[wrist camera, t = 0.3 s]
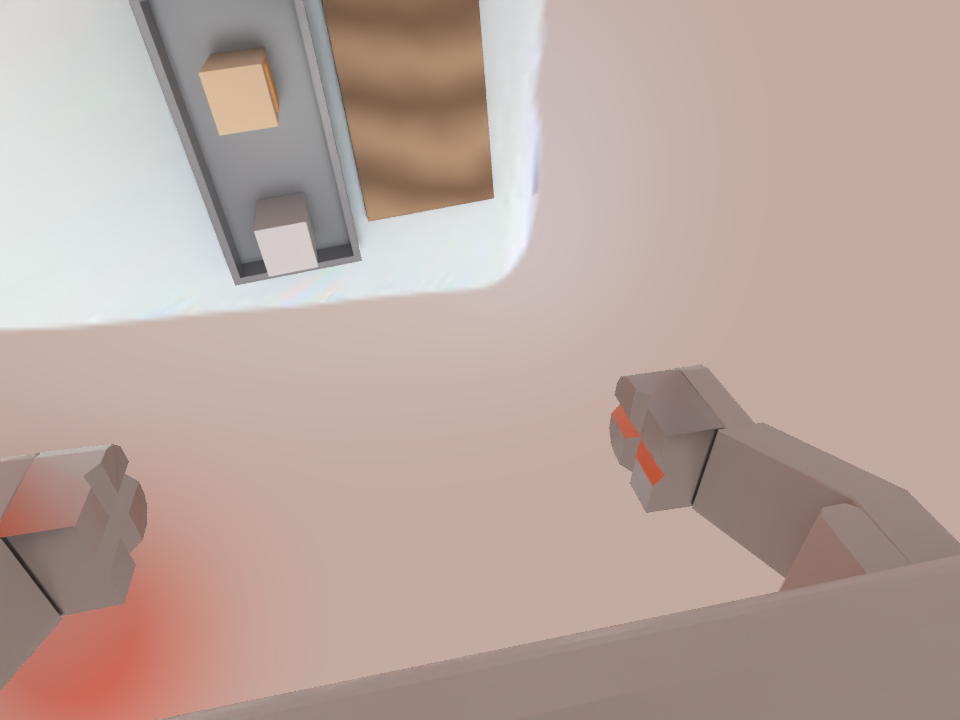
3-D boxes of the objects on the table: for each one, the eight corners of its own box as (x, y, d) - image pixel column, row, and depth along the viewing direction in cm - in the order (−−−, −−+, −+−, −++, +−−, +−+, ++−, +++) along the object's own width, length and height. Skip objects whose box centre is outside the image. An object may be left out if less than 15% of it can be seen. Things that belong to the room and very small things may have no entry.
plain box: (257, 200, 52) (253, 231, 47) (303, 192, 53) (305, 221, 47) (270, 242, 55) (269, 276, 49) (314, 234, 55) (318, 267, 50)
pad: (313, -39, 44) (313, -39, 43) (470, -58, 46) (474, -57, 45) (367, 216, 56) (368, 221, 55) (490, 194, 58) (493, 198, 57)
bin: (136, -12, 43) (125, -9, 40) (295, -31, 44) (296, -29, 42) (237, 268, 56) (235, 285, 53) (358, 245, 57) (361, 260, 55)
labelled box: (210, 54, 45) (198, 72, 39) (266, 46, 46) (263, 63, 40) (228, 109, 48) (219, 135, 41) (281, 101, 48) (280, 126, 42)
